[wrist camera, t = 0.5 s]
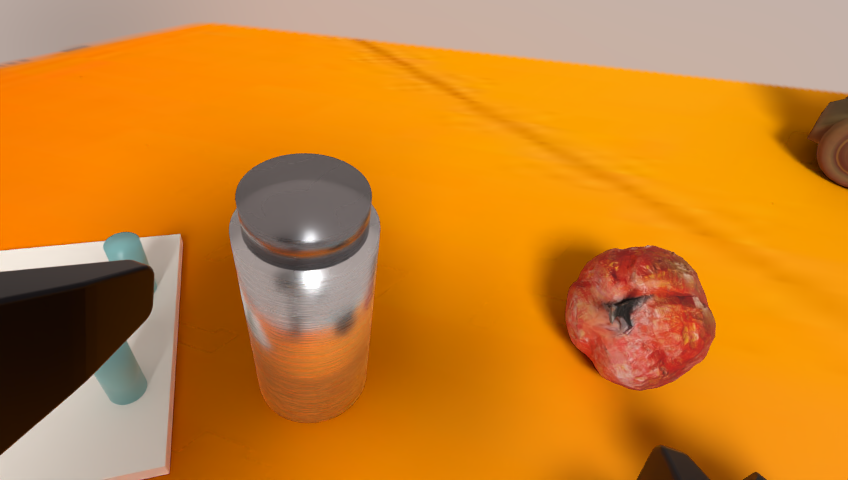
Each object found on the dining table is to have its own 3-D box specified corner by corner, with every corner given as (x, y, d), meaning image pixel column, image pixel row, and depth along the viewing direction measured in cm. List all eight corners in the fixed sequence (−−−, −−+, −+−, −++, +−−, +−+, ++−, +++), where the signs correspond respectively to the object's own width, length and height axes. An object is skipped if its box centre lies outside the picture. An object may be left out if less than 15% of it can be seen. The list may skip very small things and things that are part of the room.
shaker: (325, 444, 23) (322, 274, 15) (235, 387, 25) (186, 203, 16) (385, 358, 27) (410, 183, 19) (303, 313, 28) (292, 131, 20)
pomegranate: (582, 306, 34) (508, 279, 27) (678, 243, 32) (624, 192, 24) (646, 410, 30) (579, 410, 23) (763, 347, 27) (729, 325, 20)
